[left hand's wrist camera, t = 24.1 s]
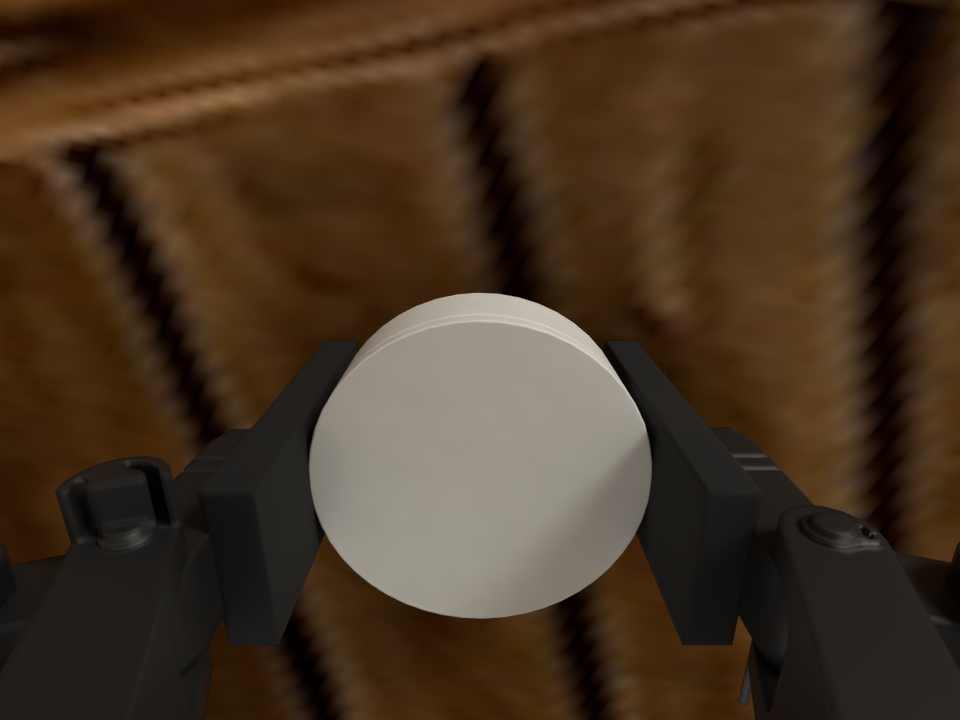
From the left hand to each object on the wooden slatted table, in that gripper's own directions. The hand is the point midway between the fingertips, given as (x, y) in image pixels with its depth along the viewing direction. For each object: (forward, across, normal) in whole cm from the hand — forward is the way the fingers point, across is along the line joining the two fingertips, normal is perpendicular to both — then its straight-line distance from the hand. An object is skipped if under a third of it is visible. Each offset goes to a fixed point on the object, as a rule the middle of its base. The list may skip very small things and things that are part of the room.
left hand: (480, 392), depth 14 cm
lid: (-4, 0, 0) cm, 4 cm away
